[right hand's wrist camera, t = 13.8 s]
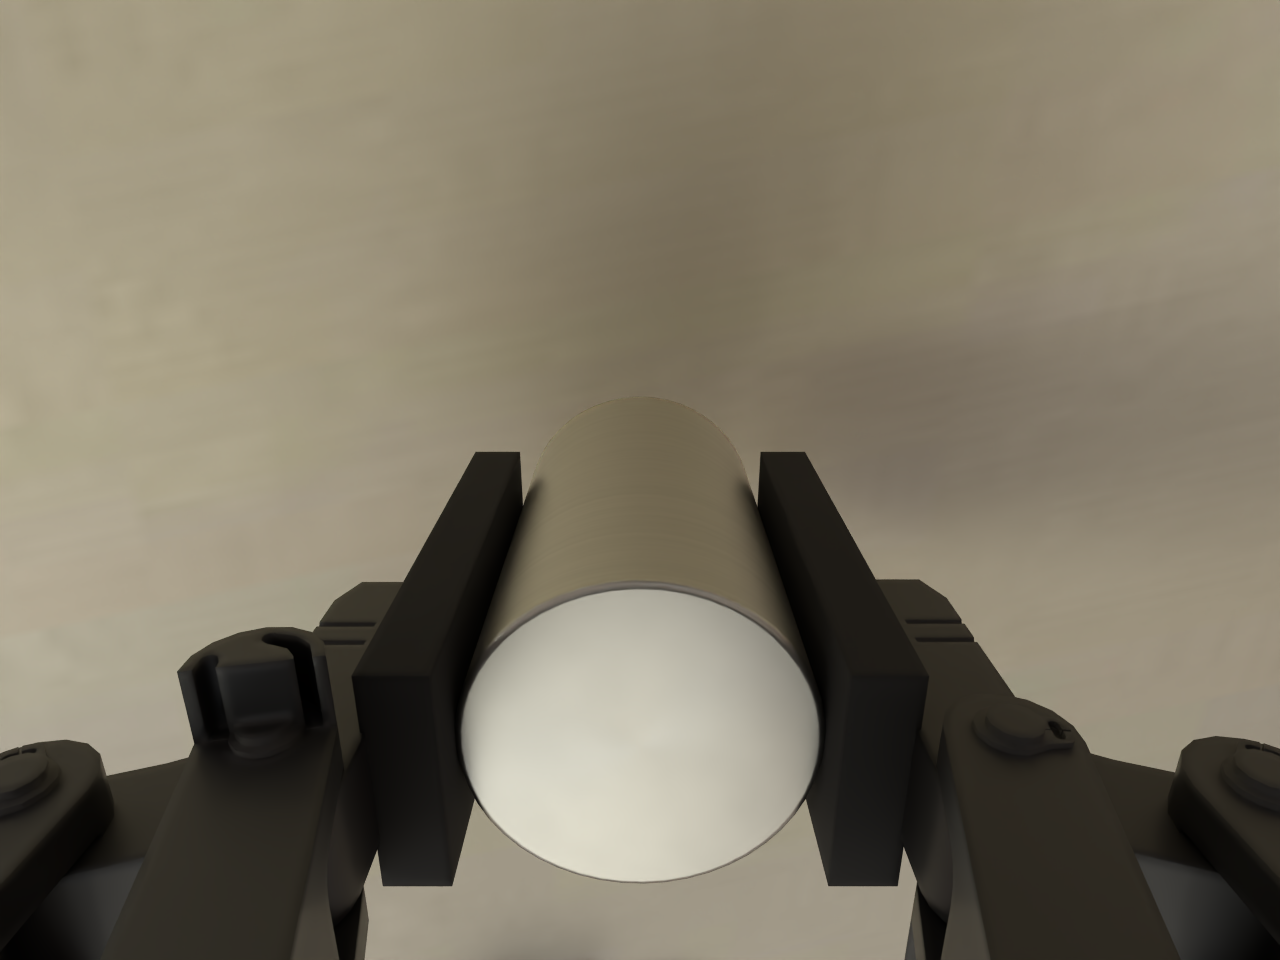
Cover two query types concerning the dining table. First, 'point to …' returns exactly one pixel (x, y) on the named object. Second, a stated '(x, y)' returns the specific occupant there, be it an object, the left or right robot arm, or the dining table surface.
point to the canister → (640, 658)
